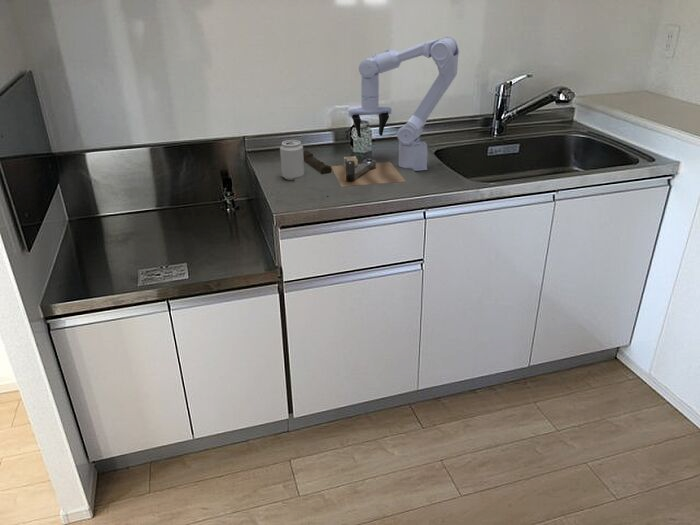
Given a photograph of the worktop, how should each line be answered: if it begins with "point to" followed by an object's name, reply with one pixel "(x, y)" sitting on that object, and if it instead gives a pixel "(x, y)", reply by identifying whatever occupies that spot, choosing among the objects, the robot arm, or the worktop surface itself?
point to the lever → (358, 168)
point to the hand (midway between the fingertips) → (369, 135)
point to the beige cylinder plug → (354, 161)
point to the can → (292, 159)
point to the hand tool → (316, 163)
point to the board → (369, 174)
